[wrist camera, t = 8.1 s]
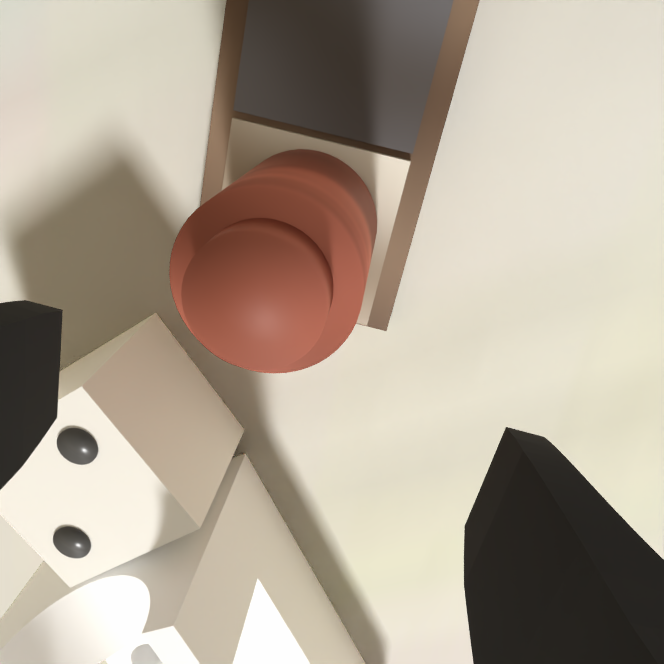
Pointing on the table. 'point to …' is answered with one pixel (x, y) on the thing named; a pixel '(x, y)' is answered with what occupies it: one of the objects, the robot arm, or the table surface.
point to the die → (123, 456)
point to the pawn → (277, 262)
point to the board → (342, 104)
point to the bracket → (189, 598)
